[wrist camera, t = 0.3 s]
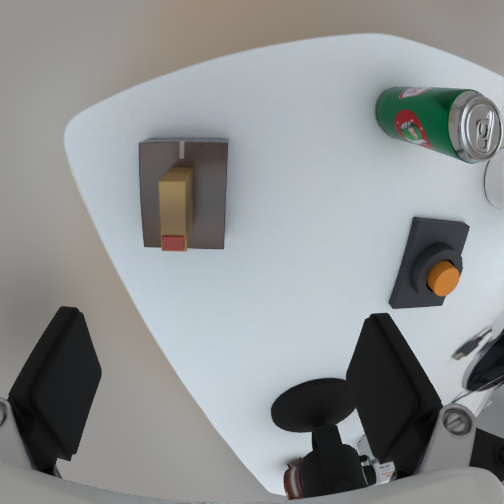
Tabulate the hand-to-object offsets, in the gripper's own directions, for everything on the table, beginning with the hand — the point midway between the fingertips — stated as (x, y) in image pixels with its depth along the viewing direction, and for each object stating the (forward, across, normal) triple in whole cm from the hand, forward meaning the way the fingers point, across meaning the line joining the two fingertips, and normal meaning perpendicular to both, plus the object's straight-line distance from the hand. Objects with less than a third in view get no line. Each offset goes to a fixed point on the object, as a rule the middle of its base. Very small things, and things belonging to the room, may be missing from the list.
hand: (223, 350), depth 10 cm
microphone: (+20, -14, +32) cm, 40 cm away
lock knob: (+17, +4, 0) cm, 17 cm away
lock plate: (+20, +4, 0) cm, 20 cm away
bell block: (+20, -23, +7) cm, 32 cm away
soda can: (+20, -15, -9) cm, 27 cm away
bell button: (+17, -23, +7) cm, 30 cm away
